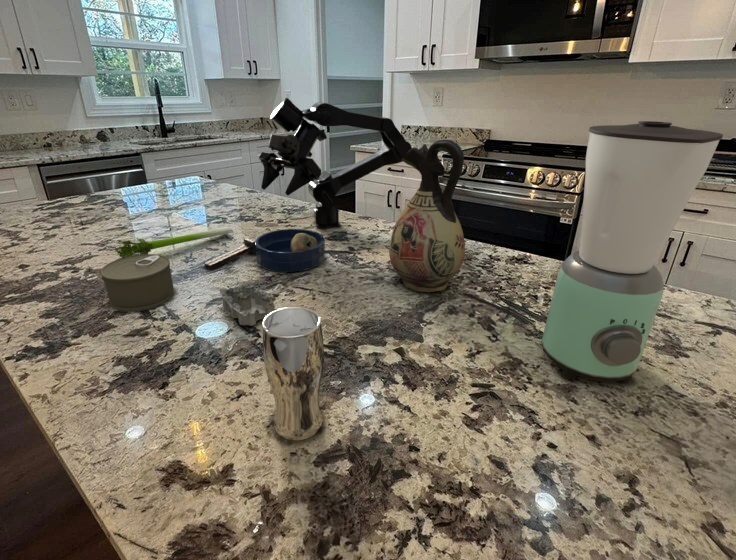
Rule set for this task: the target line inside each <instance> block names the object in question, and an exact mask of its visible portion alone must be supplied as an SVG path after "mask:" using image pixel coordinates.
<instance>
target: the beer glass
mask: <svg viewBox="0 0 736 560" xmlns="http://www.w3.org/2000/svg"><path fill="white" fill-rule="evenodd" d="M261 326H262V355H263V356H262V357H263V364H264V369H265V372H266V376H267V379H268V383H269V386H270V389H271V392H272V395H273V398H274V403H275V409H274V410H275V411H274V418H273V427H274V430H275V432H276V433H277V435H278V436H280V437H281V438H283V439H285V440H289V441H303V440H306V439H309V438H311V437H313V436H315V434H317V433H318V432H319V431H320V430H321V428H322V425H323V413H322V411H321V407H320V402H319V398H320V397H319V394H320V388H321V383H322V377H323V371H324V363H325V344H324V335H323V334H324V333H323V326H322V318H321V315H320V314H319V313H318V312H317V311H315V310H313V309H312V308H309V307H304V306H287V307H281V308H278V309H276V310H275V309H274V311H273V312H271V313H269V314H268V315H267V316H266V317H265V318H264V319H262V323H261Z"/></svg>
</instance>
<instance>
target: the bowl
mask: <svg viewBox="0 0 736 560" xmlns="http://www.w3.org/2000/svg"><path fill="white" fill-rule="evenodd" d="M298 233H305V234H308V235H310V236H312V237H314V238H315V239H316V241H317V246H315V247H313V248H310V249H307V250H302V251H295V252H292V250H291V241H292V239H293V237H294V236H295V235H296V234H298ZM254 241H255V247H256V254H255V255H256V256H255V257H256V263H257V264H258V265H259V266H260V267H261V268H262V269H263V268H264V269H266V270H268V271H273V272H280V273H281V272H285V273H286V272H287V273H293V272H302V271H306V270H309V269H313V268H315V267H318V266H320V265H321V264H322V263H323V262H324V261H325V258H326V238H325V237H324V235H323V234H321V233H320V232H317V231H314V230H310V229H304V228H283V229H276V230H272V231H268V232H266V233H263V234H261V235H259V236H258V237H256V239H254Z"/></svg>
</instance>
